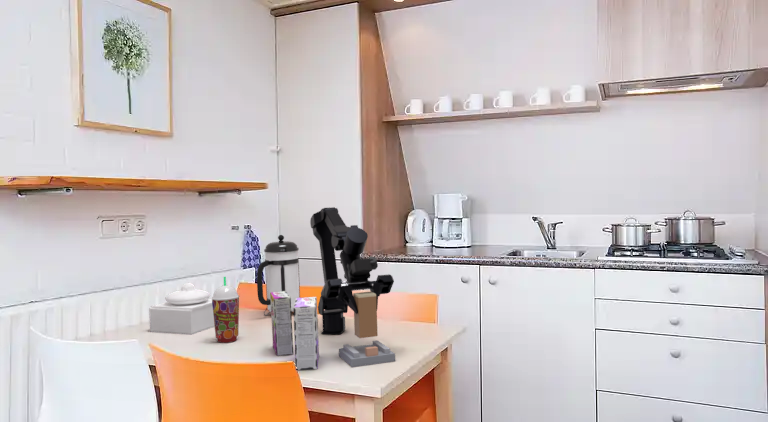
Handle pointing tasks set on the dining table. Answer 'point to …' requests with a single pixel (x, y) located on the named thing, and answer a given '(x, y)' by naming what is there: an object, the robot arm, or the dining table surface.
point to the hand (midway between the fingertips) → (366, 311)
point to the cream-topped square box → (365, 315)
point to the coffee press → (279, 271)
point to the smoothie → (226, 313)
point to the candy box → (306, 333)
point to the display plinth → (365, 359)
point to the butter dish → (183, 312)
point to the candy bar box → (281, 323)
